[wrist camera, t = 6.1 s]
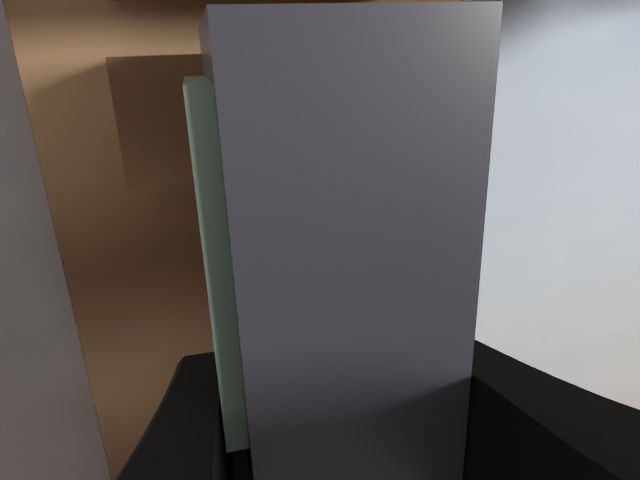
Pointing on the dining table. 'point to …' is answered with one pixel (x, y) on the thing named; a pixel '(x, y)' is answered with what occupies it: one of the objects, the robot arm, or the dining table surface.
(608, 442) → the robot arm
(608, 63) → the dining table surface
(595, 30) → the dining table surface
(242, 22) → the grey rectangular box
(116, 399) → the stand
